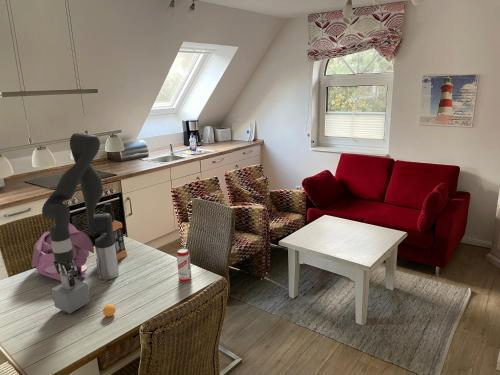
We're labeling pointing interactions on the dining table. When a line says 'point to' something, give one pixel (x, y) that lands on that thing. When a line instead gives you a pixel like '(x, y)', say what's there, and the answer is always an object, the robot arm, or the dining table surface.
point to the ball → (109, 310)
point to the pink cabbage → (45, 261)
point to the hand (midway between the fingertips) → (69, 284)
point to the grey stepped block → (70, 294)
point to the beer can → (184, 265)
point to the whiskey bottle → (116, 234)
